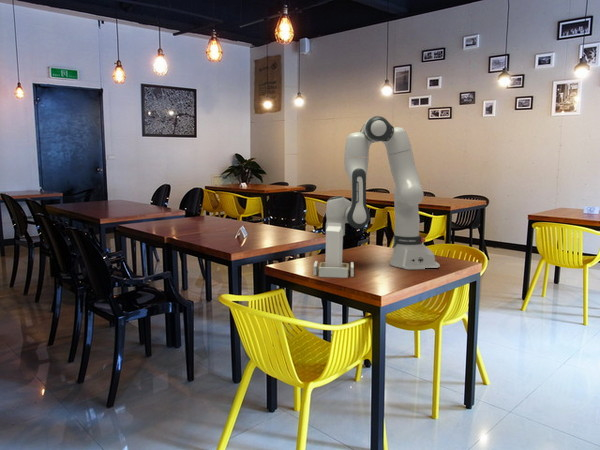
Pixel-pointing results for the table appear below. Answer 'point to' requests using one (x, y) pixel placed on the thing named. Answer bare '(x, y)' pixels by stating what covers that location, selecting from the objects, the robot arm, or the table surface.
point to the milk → (334, 245)
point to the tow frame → (344, 265)
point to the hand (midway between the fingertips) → (334, 260)
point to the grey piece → (332, 271)
